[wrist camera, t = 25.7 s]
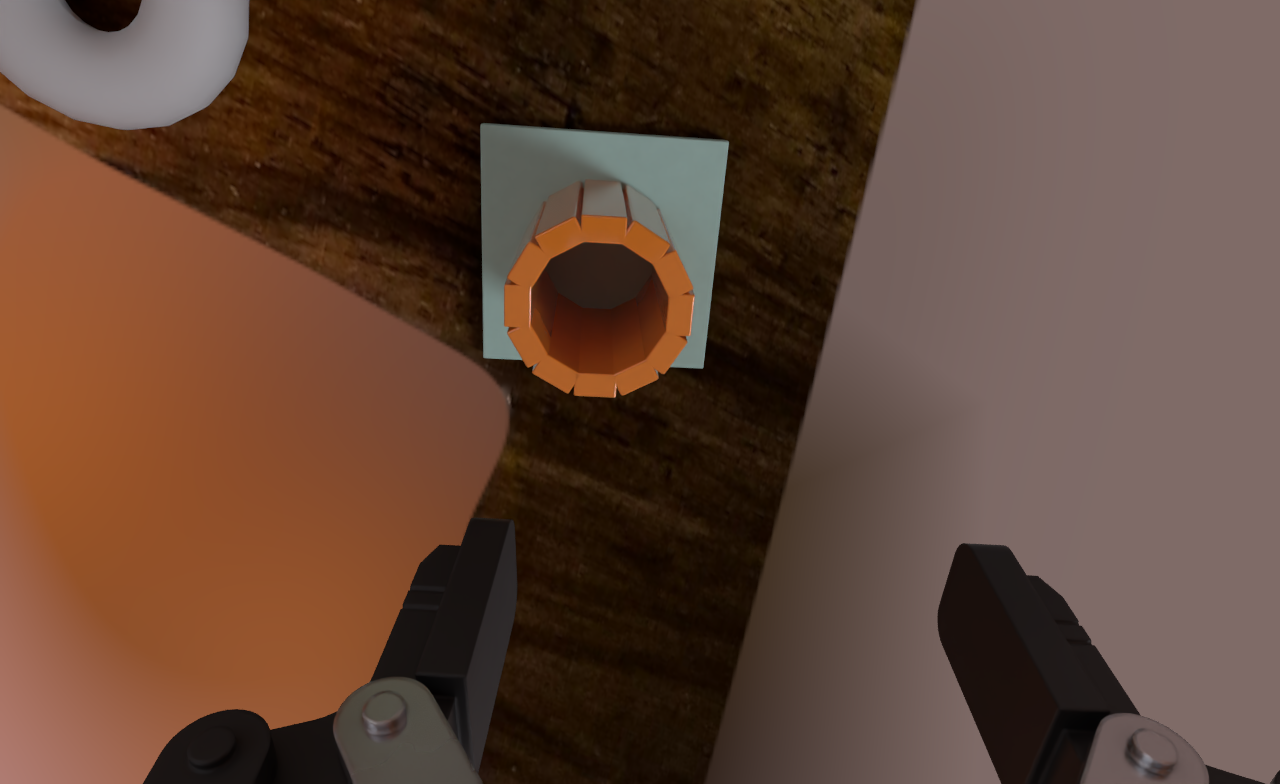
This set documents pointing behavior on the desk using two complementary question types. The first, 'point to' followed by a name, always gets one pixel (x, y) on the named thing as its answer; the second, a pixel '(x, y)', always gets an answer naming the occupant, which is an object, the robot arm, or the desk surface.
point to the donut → (124, 59)
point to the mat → (596, 272)
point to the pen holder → (591, 337)
